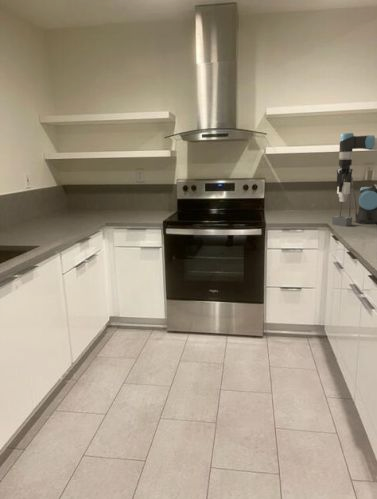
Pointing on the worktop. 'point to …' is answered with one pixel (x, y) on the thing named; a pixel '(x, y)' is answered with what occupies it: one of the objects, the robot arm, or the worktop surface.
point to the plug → (344, 191)
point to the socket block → (341, 220)
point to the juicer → (349, 200)
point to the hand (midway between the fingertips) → (343, 196)
